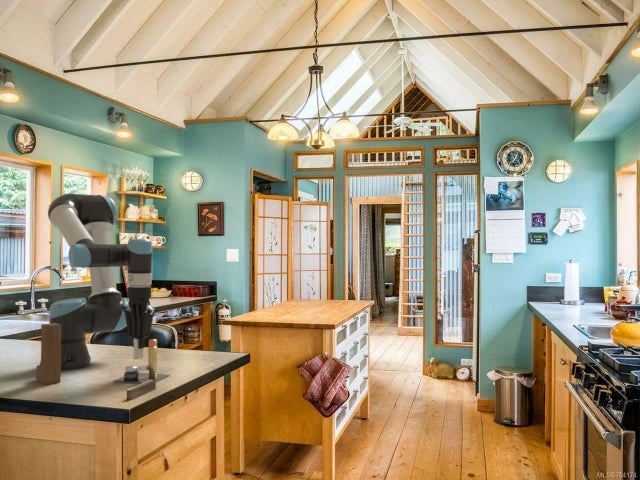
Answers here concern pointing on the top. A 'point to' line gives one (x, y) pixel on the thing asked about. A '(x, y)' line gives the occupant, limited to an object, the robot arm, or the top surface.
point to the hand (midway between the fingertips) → (138, 358)
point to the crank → (141, 368)
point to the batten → (141, 389)
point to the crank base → (144, 377)
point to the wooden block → (50, 354)
